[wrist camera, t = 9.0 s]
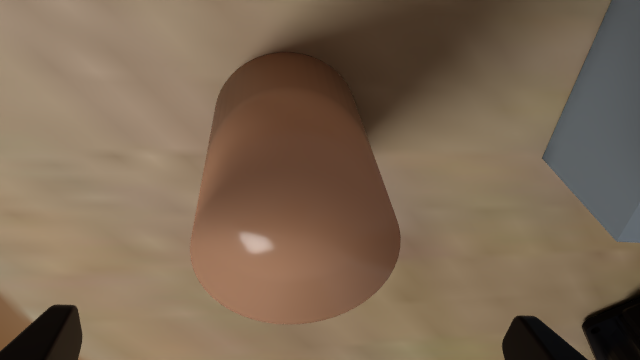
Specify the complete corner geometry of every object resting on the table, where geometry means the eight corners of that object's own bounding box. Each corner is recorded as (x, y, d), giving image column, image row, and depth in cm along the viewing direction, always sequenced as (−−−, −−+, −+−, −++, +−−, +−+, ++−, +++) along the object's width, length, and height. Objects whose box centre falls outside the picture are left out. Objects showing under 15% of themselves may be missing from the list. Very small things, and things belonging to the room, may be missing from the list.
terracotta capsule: (379, 138, 18) (432, 271, 13) (266, 199, 20) (267, 348, 14) (310, 23, 16) (337, 124, 10) (184, 101, 17) (143, 233, 11)
